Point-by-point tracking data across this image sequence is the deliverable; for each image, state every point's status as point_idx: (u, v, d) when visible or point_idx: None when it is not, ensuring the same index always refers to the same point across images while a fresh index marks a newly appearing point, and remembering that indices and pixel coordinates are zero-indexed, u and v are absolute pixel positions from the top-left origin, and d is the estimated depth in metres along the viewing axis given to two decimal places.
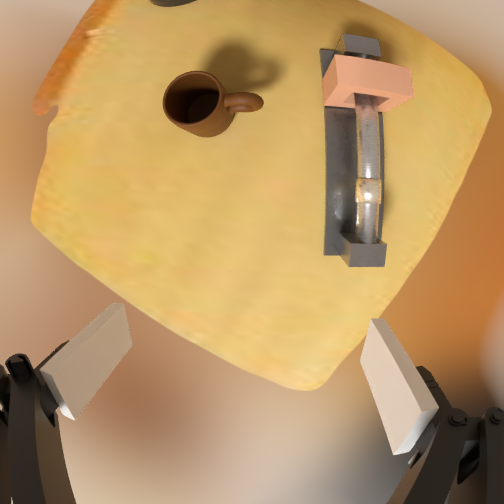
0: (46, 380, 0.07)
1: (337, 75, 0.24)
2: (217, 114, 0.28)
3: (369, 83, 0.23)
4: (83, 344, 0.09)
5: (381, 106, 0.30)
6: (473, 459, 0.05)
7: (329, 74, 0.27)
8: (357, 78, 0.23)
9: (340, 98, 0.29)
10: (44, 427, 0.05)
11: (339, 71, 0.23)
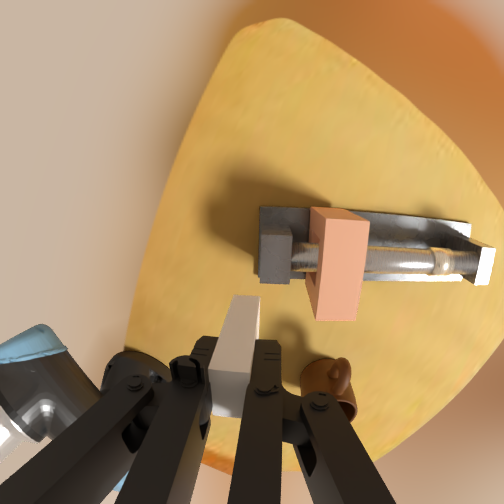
0: (212, 379, 0.09)
1: (343, 319, 0.24)
2: (351, 397, 0.30)
3: (355, 284, 0.23)
4: (237, 336, 0.11)
5: None
6: None
7: None
8: (349, 298, 0.24)
9: None
10: (193, 444, 0.06)
11: (339, 317, 0.24)
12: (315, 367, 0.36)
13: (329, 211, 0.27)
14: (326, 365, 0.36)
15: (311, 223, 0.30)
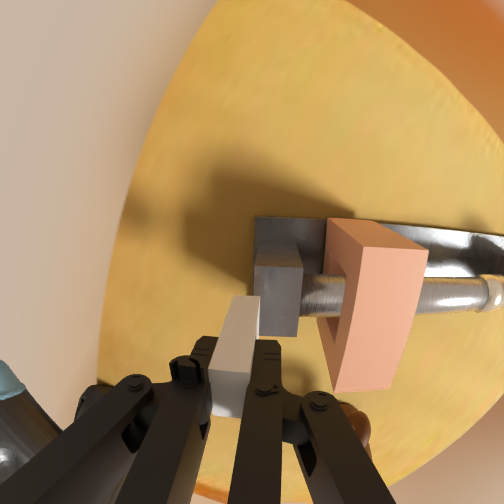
0: (212, 379, 0.09)
1: (373, 388, 0.15)
2: None
3: (397, 344, 0.14)
4: (237, 336, 0.11)
5: None
6: None
7: None
8: (385, 363, 0.14)
9: None
10: (193, 444, 0.06)
11: (368, 387, 0.15)
12: None
13: (358, 227, 0.18)
14: None
15: (329, 242, 0.21)
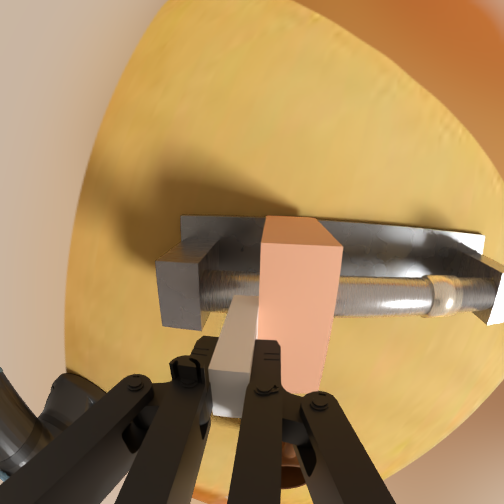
0: (212, 379, 0.09)
1: (299, 391, 0.15)
2: None
3: (316, 347, 0.14)
4: (237, 336, 0.11)
5: None
6: None
7: None
8: (306, 366, 0.15)
9: None
10: (193, 444, 0.06)
11: (292, 390, 0.15)
12: None
13: (286, 224, 0.18)
14: None
15: None
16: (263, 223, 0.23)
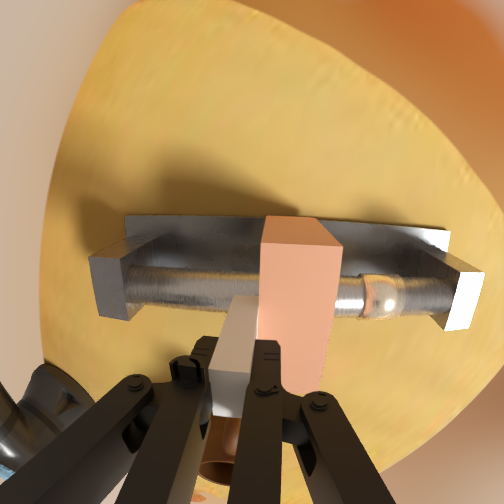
0: (213, 379, 0.09)
1: (299, 391, 0.15)
2: None
3: (316, 347, 0.14)
4: (237, 336, 0.11)
5: None
6: None
7: None
8: (306, 366, 0.15)
9: None
10: (193, 444, 0.06)
11: (292, 390, 0.15)
12: None
13: (286, 224, 0.18)
14: None
15: None
16: (195, 221, 0.23)
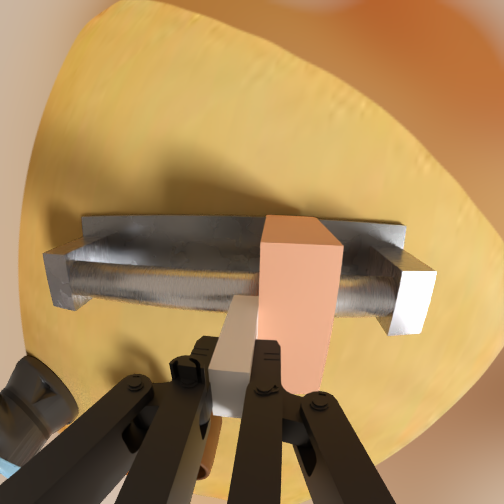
0: (212, 379, 0.09)
1: (300, 392, 0.15)
2: None
3: (317, 347, 0.14)
4: (237, 336, 0.11)
5: None
6: None
7: None
8: (306, 366, 0.15)
9: None
10: (193, 444, 0.06)
11: (292, 390, 0.15)
12: None
13: (286, 223, 0.18)
14: None
15: None
16: (138, 220, 0.24)
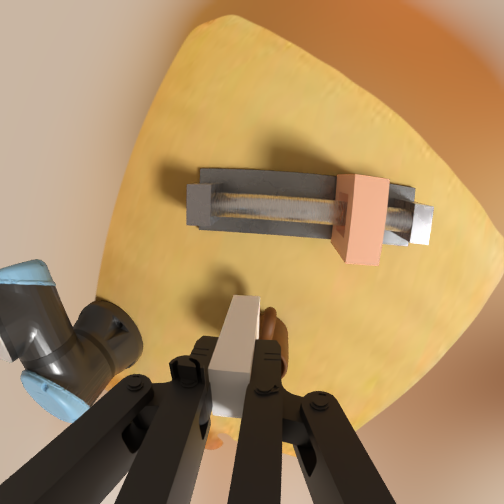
0: (212, 379, 0.09)
1: (369, 264, 0.28)
2: None
3: (378, 232, 0.27)
4: (237, 336, 0.11)
5: None
6: None
7: None
8: (373, 244, 0.27)
9: None
10: (193, 444, 0.06)
11: (365, 262, 0.28)
12: None
13: None
14: None
15: (338, 187, 0.34)
16: (250, 173, 0.37)
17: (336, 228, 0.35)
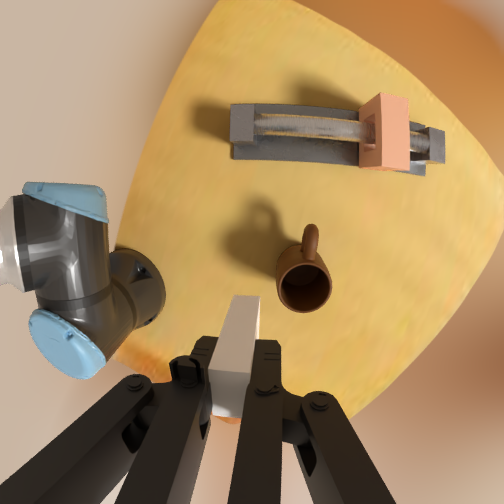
0: (212, 379, 0.09)
1: (401, 168, 0.28)
2: (323, 266, 0.35)
3: (405, 140, 0.27)
4: (237, 336, 0.11)
5: None
6: None
7: None
8: (402, 150, 0.28)
9: None
10: (193, 444, 0.06)
11: (398, 166, 0.28)
12: (289, 249, 0.41)
13: None
14: (299, 247, 0.41)
15: (361, 117, 0.34)
16: (282, 107, 0.37)
17: (364, 151, 0.35)
